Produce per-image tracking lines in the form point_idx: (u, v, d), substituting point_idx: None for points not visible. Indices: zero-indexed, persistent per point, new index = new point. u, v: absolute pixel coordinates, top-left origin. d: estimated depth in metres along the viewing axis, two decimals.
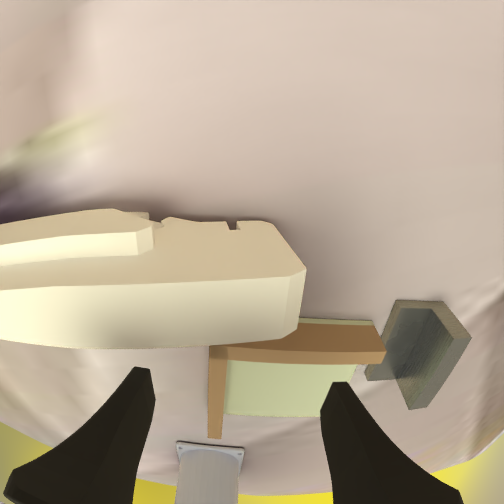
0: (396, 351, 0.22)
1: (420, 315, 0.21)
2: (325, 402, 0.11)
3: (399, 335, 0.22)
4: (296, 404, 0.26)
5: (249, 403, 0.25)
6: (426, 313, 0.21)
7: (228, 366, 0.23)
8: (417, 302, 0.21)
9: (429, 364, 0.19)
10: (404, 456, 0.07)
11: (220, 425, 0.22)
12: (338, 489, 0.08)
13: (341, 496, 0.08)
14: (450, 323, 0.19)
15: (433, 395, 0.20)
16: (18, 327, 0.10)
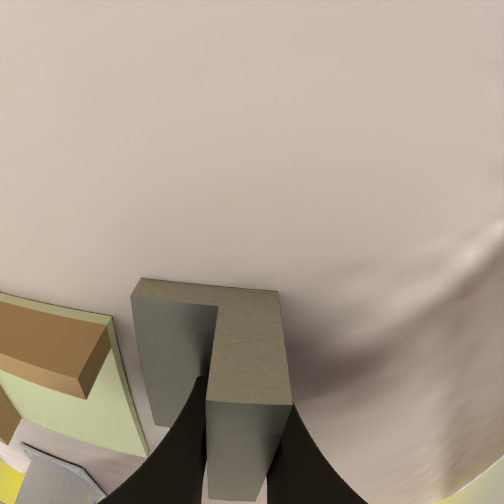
0: (177, 386, 0.12)
1: (192, 319, 0.10)
2: None
3: (162, 356, 0.11)
4: (83, 428, 0.15)
5: (33, 412, 0.15)
6: (208, 316, 0.10)
7: None
8: (191, 289, 0.10)
9: None
10: (328, 468, 0.07)
11: None
12: (269, 494, 0.08)
13: (270, 501, 0.08)
14: (240, 351, 0.08)
15: (253, 490, 0.09)
16: None
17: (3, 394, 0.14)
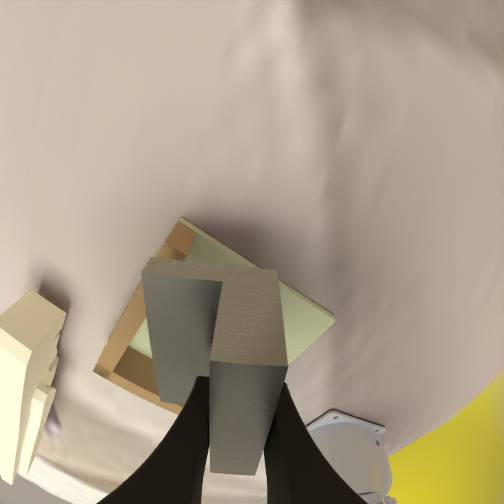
0: (183, 361, 0.13)
1: (198, 294, 0.11)
2: None
3: (169, 331, 0.12)
4: None
5: None
6: (212, 291, 0.11)
7: None
8: (198, 267, 0.11)
9: None
10: (328, 468, 0.07)
11: None
12: (270, 494, 0.08)
13: (270, 501, 0.08)
14: (241, 319, 0.09)
15: (253, 462, 0.10)
16: (7, 443, 0.15)
17: None
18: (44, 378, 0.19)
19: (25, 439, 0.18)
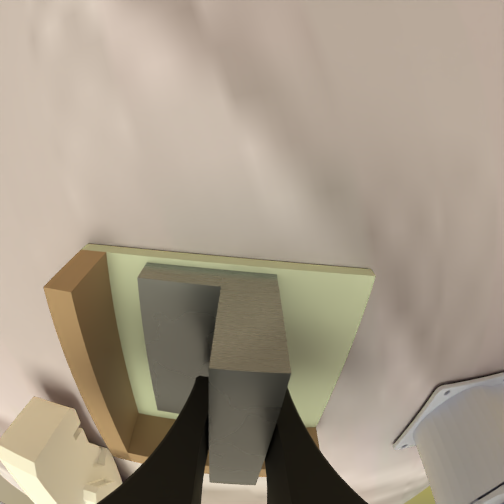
0: (180, 369, 0.12)
1: (196, 300, 0.11)
2: None
3: (166, 338, 0.11)
4: (305, 351, 0.13)
5: None
6: (210, 296, 0.11)
7: None
8: (195, 271, 0.11)
9: None
10: (328, 468, 0.07)
11: None
12: (270, 494, 0.08)
13: (270, 501, 0.08)
14: (241, 325, 0.09)
15: (254, 472, 0.10)
16: None
17: None
18: (94, 475, 0.16)
19: None
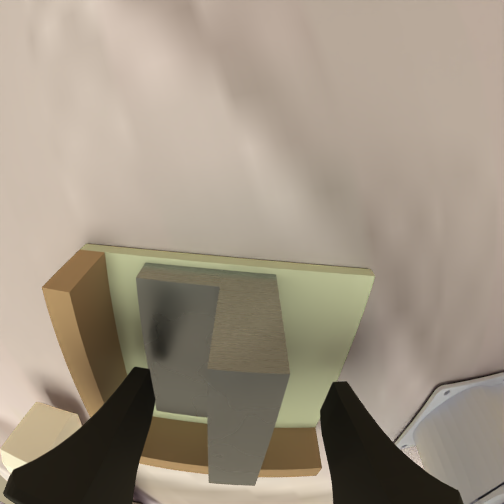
0: (179, 369, 0.12)
1: (194, 300, 0.11)
2: (325, 402, 0.11)
3: (165, 338, 0.11)
4: (304, 351, 0.13)
5: (290, 406, 0.15)
6: (209, 297, 0.10)
7: (199, 421, 0.16)
8: (194, 272, 0.11)
9: None
10: (404, 456, 0.07)
11: (277, 470, 0.13)
12: (338, 489, 0.08)
13: (341, 496, 0.08)
14: (240, 326, 0.09)
15: (253, 472, 0.10)
16: None
17: None
18: None
19: None
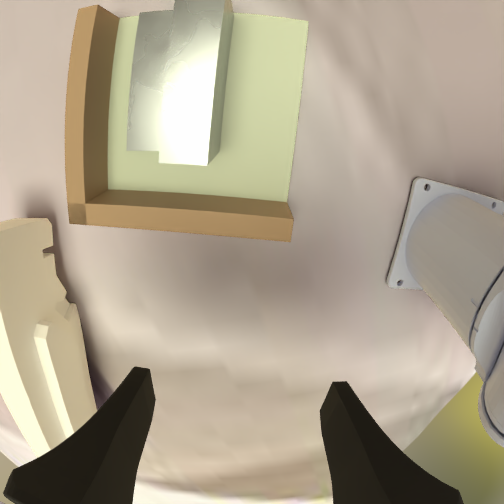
0: (155, 85, 0.13)
1: None
2: (325, 402, 0.11)
3: (150, 54, 0.13)
4: (261, 82, 0.14)
5: (256, 158, 0.16)
6: None
7: (166, 189, 0.17)
8: None
9: None
10: (404, 456, 0.07)
11: (241, 217, 0.15)
12: (338, 489, 0.08)
13: (341, 496, 0.08)
14: None
15: (204, 124, 0.11)
16: (30, 422, 0.14)
17: (231, 198, 0.17)
18: (54, 321, 0.18)
19: (61, 422, 0.17)
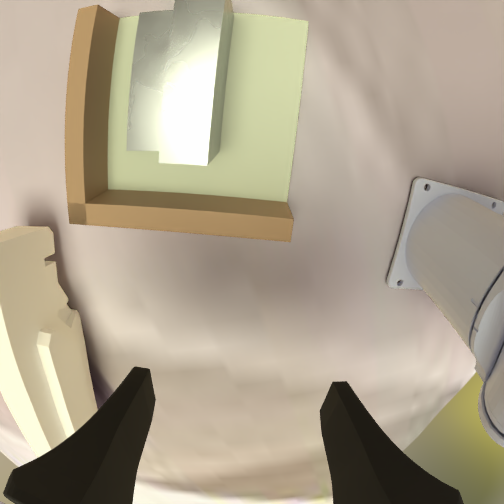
0: (155, 85, 0.13)
1: None
2: (325, 402, 0.11)
3: (150, 54, 0.13)
4: (261, 82, 0.14)
5: (256, 158, 0.16)
6: None
7: (166, 189, 0.17)
8: None
9: None
10: (404, 456, 0.07)
11: (241, 217, 0.15)
12: (338, 489, 0.08)
13: (341, 496, 0.08)
14: None
15: (204, 124, 0.11)
16: (33, 427, 0.14)
17: (231, 198, 0.17)
18: (56, 328, 0.18)
19: (64, 427, 0.17)
